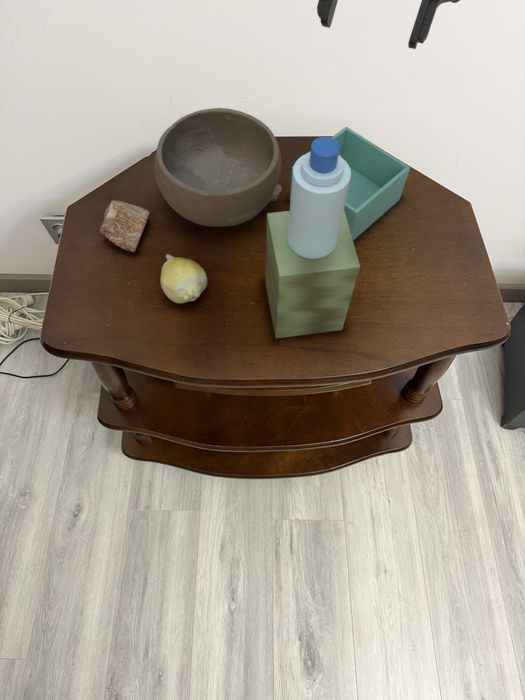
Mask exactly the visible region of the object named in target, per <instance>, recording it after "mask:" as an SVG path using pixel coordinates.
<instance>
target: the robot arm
mask: <svg viewBox="0 0 525 700" xmlns="http://www.w3.org/2000/svg"><path fill="white" fill-rule="evenodd" d="M338 1H339V0H318V2H317V6H316V13H317V16H318V18H319V19H320V25H321V26H322V27H324V28H328V29H331V26H332V23H333V19H334V16H335V12H336V10H337V6H338ZM460 1H461V0H421V2H420V5H419V8H418V11H417V14H416V17H415V21H414V22H413V23H414V24H413V25H412V26H413V27H412V30H411V33H410V36H409V39H408V43H407V46H408V47H407V48H409V49H413V50H416V49H417V46H418V44H422V45H423V44H424V43H425V42H426V40H427V38H428V36H429V32H430V30H431V26H432V24H433V22H434V18H435V15H436V12H437V10H438V8H439V6H441V5H443V4H445V3H453V4H457V3H459V2H460Z"/></svg>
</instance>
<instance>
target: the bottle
mask: <svg viewBox="0 0 525 700" xmlns="http://www.w3.org/2000/svg"><path fill="white" fill-rule="evenodd" d="M339 150H340V146H339V143H338V142H337V141H336V140H335V139H333V138H331V137H330V136H319V137H317V138H315V139H314V140H313V141H312V142H311V144H310V150H309V152H307V153H305V154H302V155H301V156H300V157H299V158H298V159H297V160H296V161H295V163H294V164H293V166H294V167H293V166H292V167H293V174H292V187H291V200H289V201H290V202H289V211H290V213H289V226H288V243H289V246H290V247H291V249H292V250H293V251H294V252H295V253H296V254H298V255H300V256H302V257H305V258H309V259H318V258H323V257H325V256H327V255H329V254H330V253H331V252H332V251H333V250H334V249H335V247H336V245H337V241H338V236H339V231H340V226H341V221H342V217H343V212H344V207H345V202H346V197H347V193H348V188H349V183H350V178H351V170H350V167H349V165H348V164H347V162H346V161H345V160H344V159H343V158H341V156H340V155H339Z"/></svg>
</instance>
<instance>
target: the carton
mask: <svg viewBox="0 0 525 700" xmlns="http://www.w3.org/2000/svg"><path fill="white" fill-rule="evenodd" d="M330 138H333V139H335V140H336V141H337V142H338V143H339V146H340V150H339V155H340V156H341V158H343V159H344V160H345V161H346V162H347V164H348V165H349V167H350V170H351V178H350V183H349V188H348V193H347V197H346V202H345V207H344V212H345V215H346V219H347V222H348V225H349V229H350V232H351V236H352V239H353V241H354V240H356V239H357V238H358V237H359V236H361V234H362V233H364V232H365V231H366V230H367V229H368V228H369V227H371V226H372V225H373V224H374V223H375V222H376V221H378V219H380V218H381V217H382V216H383V215H384V214H385V213H386V212H387V211H389V210H390V209H391V208H392V207H393V206H394V205H396V204H397V203H398V202H399V201H400V200H401V197H402V194H403V191H404V188H405V185H406V182H407V179H408V176H409V173H410V170H411V166H410V165H408V164H406V163H405V162H403V161H401V160H400V159H399V158H397V157H395V156H394V155H392V154H390V153H389V152H387V151H386V150H385V149H382V148H381V147H379V146H378V145H376V144H375V143H373V142H372V141H370V140H368V139H367V138H365V137H364V136H362V135H361V134H359V133H357V132H356V131H354V130H353V129H351V128H349V127H348V126H344V127H343V128H342V129H340V130H339V131H338V132H336V133H335V134H333V135H332V136H331V137H330ZM293 167H294V165H293V166H292V167H291V170H290V185H289V199H288V200H289V201H290V200H291V187H292V174H293Z"/></svg>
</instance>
